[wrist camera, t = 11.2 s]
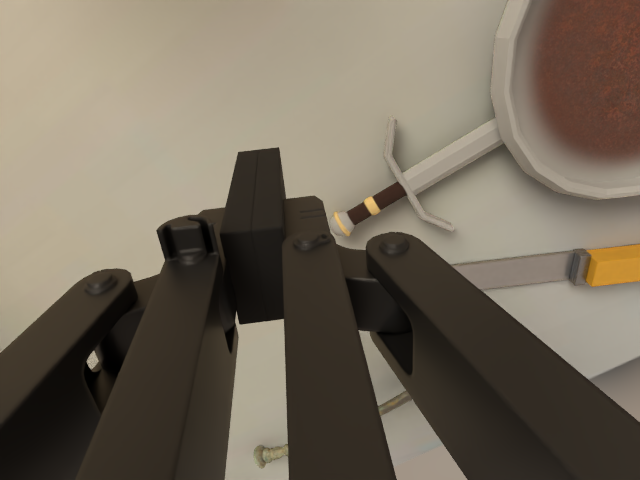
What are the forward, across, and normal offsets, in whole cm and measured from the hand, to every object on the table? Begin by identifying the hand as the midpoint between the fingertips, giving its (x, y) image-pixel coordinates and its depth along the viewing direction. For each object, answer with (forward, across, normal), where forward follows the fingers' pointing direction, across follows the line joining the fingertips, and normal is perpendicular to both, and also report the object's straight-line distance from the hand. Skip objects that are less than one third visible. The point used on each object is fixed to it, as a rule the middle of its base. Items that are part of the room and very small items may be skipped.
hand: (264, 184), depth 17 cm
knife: (+9, +20, -12) cm, 25 cm away
